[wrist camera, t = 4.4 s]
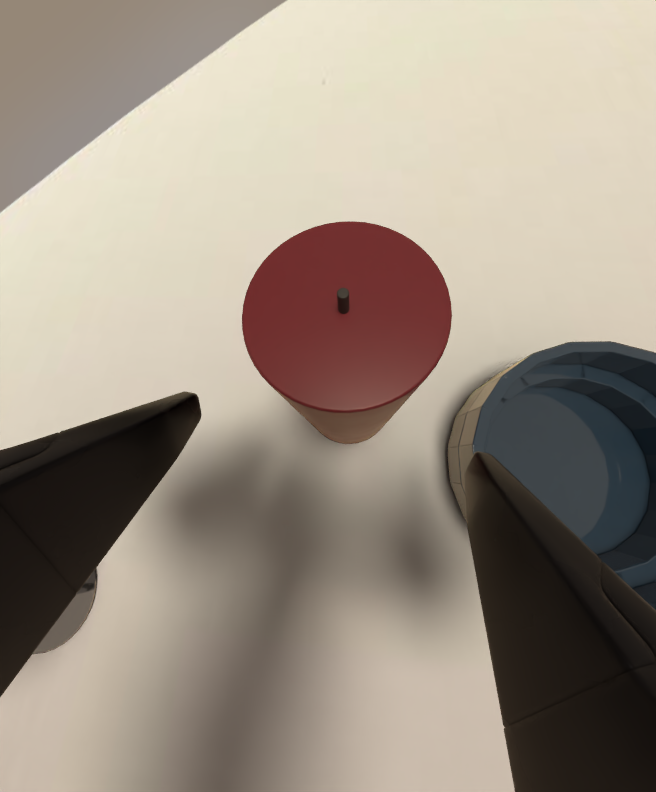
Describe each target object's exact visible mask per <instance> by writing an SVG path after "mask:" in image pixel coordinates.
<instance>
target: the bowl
mask: <svg viewBox="0 0 656 792" xmlns="http://www.w3.org/2000/svg"><path fill="white" fill-rule="evenodd" d="M477 451H479V452H484V453H489V454H491V455H493V456H494V457H495V458H496V459H497V460H498V461H499V462H500V463H501V464H502V465H503V466H504V467H505V468H506V469H507V470H508V471H510V472H511V473H512V474H513V475H514V476H515V477H516V478H517V479H518V480H519V481H520V482H521V483H522V484H523V485H524V486H525V487H526V488H527V489H528V490H529V491H530V492H531V493H532V494H534V495H535V496H536V497H537V498H538V499H539V500H540V501H541V502H542V503H543V504H544V505H545V506H546V507H547V508H548V509H549V510H550V511H551V512H552V513H553V514H554V515H555V516H557V517H558V518H559V519H560V520H561V521H562V522H563V523H564V524H565V525H566V526H567V527H568V528H569V529H570V530H571V531H572V532H573V533H574V534H575V535H576V536H577V537H578V538H580V539H581V540H582V541H583V542H584V543H585V544H586V545H587V546H588V547H589V548H590V549H591V550H592V551H593V552H594V553H595V554H596V555H597V556H598V557H599V558H600V559H601V560H602V562H604V563H606V564H607V565H608V566H609V567H610V568H611V569H612V570H613V571H614V572H615V573H616V574H617V575H618V576H619V577H620V578H621V579H622V580H624V581H625V582H626V583H627V584H628V585H629V586H630V587H631V588H632V589H633V590H634V591H635V592H636V593H638V594H639V595H640V596H641V597H642V598H643V599H644V600H645V601H646V602H647V603H648V604H649V605H651V606H652V607H653V608H654V609H655V610H656V353H654V352H651V351H647V350H643V349H639V348H635V347H632V346H628V345H624V344H620V343H616V342H611V341H607V342H568V343H564V344H561V345H558V346H555V347H552V348H548V349H545V350H542V351H539V352H536V353H533V354H531V355H529V356H527V357H526V358H524V359H522V360H521V361H519V362H517V363H516V364H514V365H512V366H511V367H509V368H507V369H506V370H504V371H502V372H501V373H499V374H497V375H496V376H494V377H493V378H492V379H490V380H489V381H487V382H486V383H485V384H483V385H482V386H481V387H479V388H478V389H476V390H475V391H474V392H473V393H472V394H471V395H470V397H469V398H468V400H467V401H466V402H465V404H464V405H463V407H462V408H461V410H460V411H459V413H458V414H457V416H456V418H455V421H454V424H453V428H452V432H451V436H450V440H449V444H448V463H449V477H450V484H451V486H452V489H453V491H454V494H455V497H456V499H457V502H458V504H459V507H460V509H461V512H462V515H463V516H464V518H465V519H466V520H467V516H466V500H465V483H464V474H465V470H466V468H467V466H468V464H469V462H470V460H471V458H472V456H473V454H474V453H475V452H477Z"/></svg>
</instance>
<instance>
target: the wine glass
mask: <svg viewBox="0 0 656 792" xmlns="http://www.w3.org/2000/svg"><path fill="white" fill-rule="evenodd" d="M95 591H96V568H95V570H94V571H93V572H92V574H91V575H90V577H89V578H88V579H87V581H86V582H85V583H84V585H83V586H82V587H81V589H80V590H79V591H78V592H77V593H76V596H75V597H74V598H73V600H72V601H71V602H70V604H69V605H68V607H67V608H66V609H65V611H64V612H63V613H62V615H61V616H60V617H59V619H58V620H57V621H56V623H55V624H54V625H53V627H52V628H51V629H50V631H49V632H48V633H47V635H46V636H45V637H44V639H43V640H42V642H41V643H40V644H39V646H38V647H37V648H36V650H35V651H34V652H33V654H38V653H45V652H48V651H51V650H54V649H55V648H57V647H59V646H61V645H63V644H64V643H65V642H66V641H68V640H69V639H70V638H71V637H72V636H73V635H74V634H75V633H76V632H77V631H78V630H79V628H80V627H81V625H82V624H83V622H84V621H85V619H86V617H87V615H88V613H89V611H90V609H91V606H92V603H93V600H94V596H95Z"/></svg>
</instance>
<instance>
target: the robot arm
mask: <svg viewBox="0 0 656 792" xmlns="http://www.w3.org/2000/svg"><path fill="white" fill-rule="evenodd" d="M200 419H201V409H200V404H199V399H198V396H197V395H196V394H195V393H190V392H181V393H178V394H175V395H172V396H169V397H166V398H163V399H160V400H157V401H154V402H151V403H147V404H144V405H141V406H138V407H135V408H132V409H129V410H126V411H123V412H120V413H117V414H114V415H111V416H108V417H104V418H101V419H98V420H95V421H92V422H89V423H86V424H83V425H80V426H77V427H74V428H71V429H68V430H65V431H61V432H60V433H55V434H52V435H49V436H46V437H43V438H40V439H37V440H33V441H30V442H27V443H24V444H21V445H17V446H14V447H10V448H7V449H4V450H0V697H1V695H2V694H3V693H4V691H5V690H6V689H7V687H8V686H9V685H10V683H11V682H12V681H13V679H14V678H15V677H16V675H17V674H18V673H19V671H20V670H21V669H22V667H23V666H24V664H25V663H26V662H27V660H28V659H29V658H30V656H31V655H32V654H33V652H34V651H35V650H36V648H37V647H38V646H39V644H40V643H41V642H42V640H43V639H44V637H45V636H46V635H47V633H48V632H49V631H50V629H51V628H52V627H53V625H54V624H55V623H56V621H57V620H58V619H59V617H60V616H61V615H62V613H63V612H64V611H65V609H66V608H67V607H68V605H69V604H70V602H71V601H72V600H73V598H74V597H75V596H76V593H77V592H78V591H79V590H80V589H81V587H82V586H83V585H84V583H85V582H86V581H87V579H88V578H89V577H90V575H91V574H92V572H93V571H94V570H95V568H96V567H97V566H98V564H99V563H100V562H101V560H102V559H103V558H104V556H105V555H106V554H107V552H108V551H109V550H110V548H111V547H112V546H113V544H114V543H115V541H116V540H117V539H118V537H119V536H120V535H121V533H122V532H123V531H124V529H125V528H126V527H127V525H128V524H129V523H130V521H131V520H132V519H133V517H134V516H135V515H136V513H137V512H138V511H139V509H140V508H141V506H142V505H143V504H144V502H145V501H146V500H147V498H148V497H149V496H150V494H151V493H152V492H153V490H154V489H155V488H156V486H157V485H158V484H159V482H160V481H161V480H162V478H163V477H164V475H165V474H166V473H167V471H168V470H169V469H170V467H171V466H172V465H173V463H174V462H175V461H176V459H177V458H178V456H179V455H180V453H181V451H182V450H183V448H184V446H185V445H186V443H187V441H188V440H189V438H190V436H191V435H192V433H193V431H194V429H195V428H196V426H197V424H198V423H199V421H200ZM464 483H465V500H466V516H467V526H468V533H469V538H470V544H471V549H472V555H473V560H474V566H475V572H476V577H477V583H478V588H479V594H480V599H481V605H482V610H483V616H484V621H485V627H486V632H487V638H488V643H489V649H490V654H491V660H492V665H493V671H494V676H495V682H496V687H497V693H498V698H499V704H500V709H501V715H502V720H503V725H504V727H505V728H504V733H505V738H506V744H507V749H508V755H509V760H510V766H511V771H512V777H513V782H514V788H515V792H656V610H655V609H654V608H653V607H652V606H651V605H649V604H648V603H647V602H646V601H645V600H644V599H643V598H642V597H641V596H640V595H639V594H638V593H636V592H635V591H634V590H633V589H632V588H631V587H630V586H629V585H628V584H627V583H626V582H625V581H624V580H622V579H621V578H620V577H619V576H618V575H617V574H616V573H615V572H614V571H613V570H612V569H611V568H610V567H609V566H608V565H607V564H606V563H604V562H602V560H601V559H600V558H599V557H598V556H597V555H596V554H595V553H594V552H593V551H592V550H591V549H590V548H589V547H588V546H587V545H586V544H585V543H584V542H583V541H582V540H581V539H580V538H578V537H577V536H576V535H575V534H574V533H573V532H572V531H571V530H570V529H569V528H568V527H567V526H566V525H565V524H564V523H563V522H562V521H561V520H560V519H559V518H558V517H557V516H555V515H554V514H553V513H552V512H551V511H550V510H549V509H548V508H547V507H546V506H545V505H544V504H543V503H542V502H541V501H540V500H539V499H538V498H537V497H536V496H535V495H534V494H532V493H531V492H530V491H529V490H528V489H527V488H526V487H525V486H524V485H523V484H522V483H521V482H520V481H519V480H518V479H517V478H516V477H515V476H514V475H513V474H512V473H511V472H510V471H508V470H507V469H506V468H505V467H504V466H503V465H502V464H501V463H500V462H499V461H498V460H497V459H496V458H495V457H494V456H493V455H491V454H489V453H484V452H479V451H477V452H475V453H474V454H473V456H472V458H471V460H470V462H469V464H468V466H467V468H466V470H465V474H464Z"/></svg>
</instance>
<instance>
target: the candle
mask: <svg viewBox="0 0 656 792" xmlns="http://www.w3.org/2000/svg"><path fill="white" fill-rule="evenodd" d="M451 319H452V312H451V301H450V296H449V292H448V288H447V285H446V283H445V280H444V278H443V276H442V274H441V272H440V270H439V268H438V267H437V265H436V264H435V263H434V261H433V260H432V259H431V257H430V256H429V255H428V254H427V253H426V252H425V251H424V250H423V249H422V248H421V247H420V246H418V245H417V244H416V243H415V242H413V241H412V240H411V239H409V238H407V237H406V236H404V235H402V234H400V233H398V232H396V231H394V230H391V229H389V228H386V227H383V226H379V225H376V224H370V223H365V222H336V223H329V224H324V225H321V226H317V227H313V228H311V229H308V230H306V231H303V232H301V233H299V234H297V235H295V236H293V237H291V238H290V239H288V240H287V241H285V242H284V243H282V244H281V245H280V246H279V247H278V248H276V249H275V250H274V251H273V252H272V253H271V254H270V255H269V256H268V257H267V258H266V259H265V260H264V261H263V263H262V264H261V266H260V267H259V268H258V270H257V271H256V273H255V275H254V277H253V278H252V280H251V282H250V285H249V287H248V290H247V292H246V296H245V300H244V304H243V314H242V329H243V335H244V341H245V344H246V347H247V351H248V354H249V356H250V358H251V360H252V362H253V364H254V366H255V367H256V368H257V370H258V371H259V373H260V374H261V376H262V377H263V378H264V379H265V380H266V381H267V382H268V383H269V384H270V385H271V386H272V387H273V388H274V389H275V390H276V391H277V392H278V393H279V394H280V395H281V396H282V397H283V398H284V399H285V400H286V401H288V402H289V403H290V404H291V405H292V406H293V407H294V408H295V409H296V410H297V411H298V412H299V413H300V414H301V415H302V416H303V417H305V418H306V419H307V420H308V421H309V422H310V423H311V424H312V425H313V426H314V427H315V428H316V429H317V430H318V431H319V432H320V433H322V434H323V435H324V436H326V437H327V438H329V439H331V440H333V441H336V442H339V443H345V444H353V443H359V442H362V441H365V440H367V439H369V438H371V437H372V436H374V435H375V434H376V433H377V432H378V431H379V430H380V429H381V428H382V427H383V426H384V425H385V424H386V423H387V421H388V420H389V419H390V418H391V417H392V416H393V415H394V414H395V413H396V411H397V410H398V409H399V408H400V407H401V406H402V405H403V404H404V402H405V401H406V400H407V399H408V398H409V397H410V396H411V395H412V394H413V392H414V391H415V390H416V389H417V388H418V387H419V386H420V385H421V384H422V382H423V381H424V380H425V379H426V378H427V377H428V376H429V374H430V373H431V372H432V370H433V369H434V368H435V367H436V365H437V363H438V361H439V360H440V358H441V356H442V354H443V352H444V350H445V347H446V345H447V342H448V338H449V334H450V329H451Z"/></svg>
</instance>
